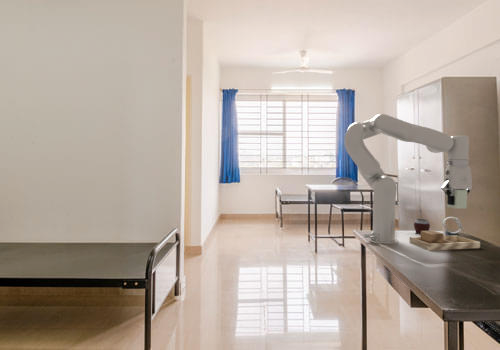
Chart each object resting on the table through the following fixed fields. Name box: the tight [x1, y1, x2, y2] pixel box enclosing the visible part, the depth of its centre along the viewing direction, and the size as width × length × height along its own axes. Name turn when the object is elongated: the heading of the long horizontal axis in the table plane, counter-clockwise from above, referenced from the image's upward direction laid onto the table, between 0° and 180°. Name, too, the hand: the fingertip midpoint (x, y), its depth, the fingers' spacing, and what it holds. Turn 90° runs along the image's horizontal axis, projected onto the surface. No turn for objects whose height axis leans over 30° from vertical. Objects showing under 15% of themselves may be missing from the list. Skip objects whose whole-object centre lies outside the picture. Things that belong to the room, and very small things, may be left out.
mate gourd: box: [413, 204, 431, 235], centre depth 146 cm, size 8×8×15 cm
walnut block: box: [420, 230, 445, 244], centre depth 123 cm, size 6×6×6 cm
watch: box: [442, 216, 464, 236], centre depth 138 cm, size 6×8×11 cm
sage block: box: [446, 189, 468, 209], centre depth 124 cm, size 5×5×8 cm
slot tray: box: [409, 235, 481, 251], centre depth 124 cm, size 24×12×4 cm, turn 98°
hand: (456, 204), depth 124 cm, fingers closed on sage block, 5 cm apart
